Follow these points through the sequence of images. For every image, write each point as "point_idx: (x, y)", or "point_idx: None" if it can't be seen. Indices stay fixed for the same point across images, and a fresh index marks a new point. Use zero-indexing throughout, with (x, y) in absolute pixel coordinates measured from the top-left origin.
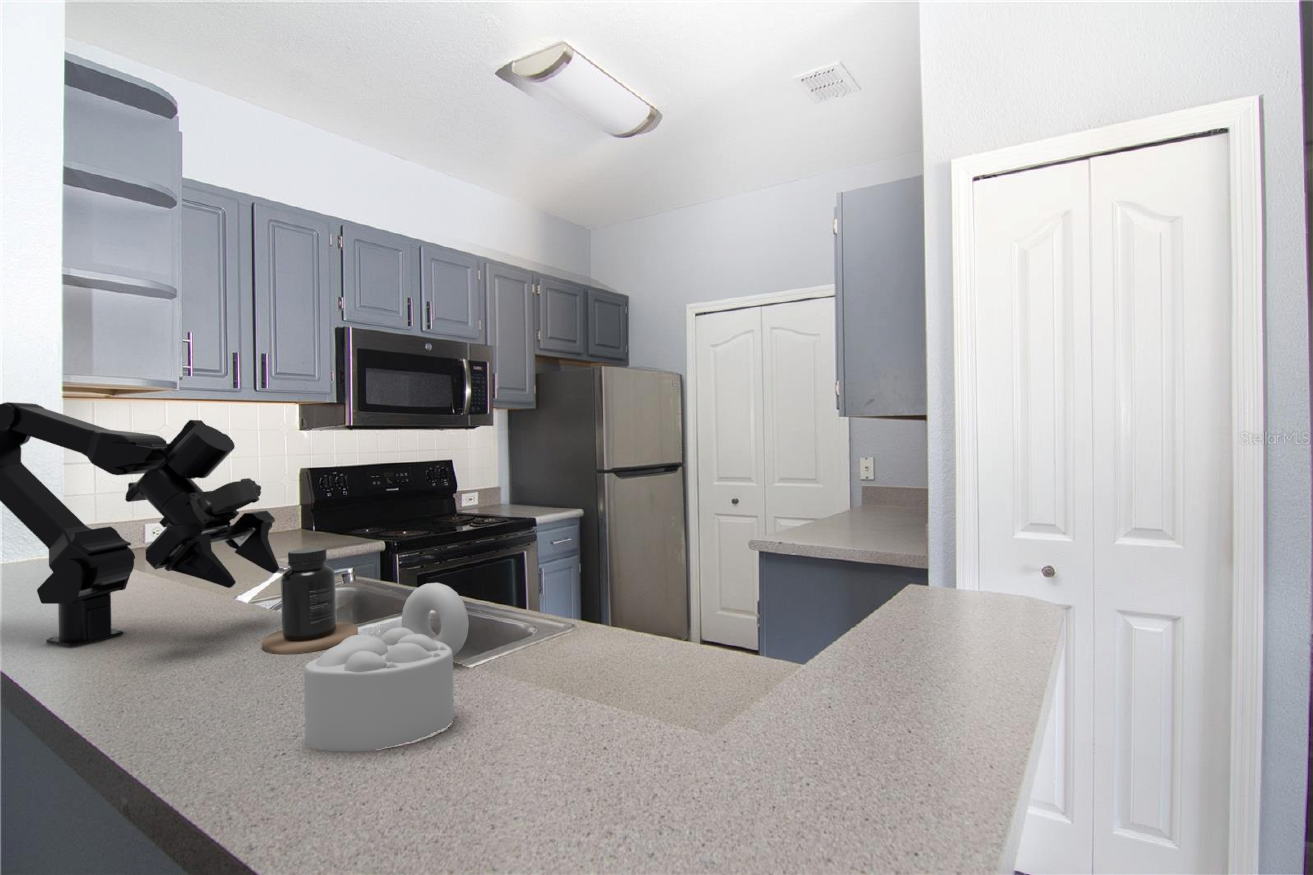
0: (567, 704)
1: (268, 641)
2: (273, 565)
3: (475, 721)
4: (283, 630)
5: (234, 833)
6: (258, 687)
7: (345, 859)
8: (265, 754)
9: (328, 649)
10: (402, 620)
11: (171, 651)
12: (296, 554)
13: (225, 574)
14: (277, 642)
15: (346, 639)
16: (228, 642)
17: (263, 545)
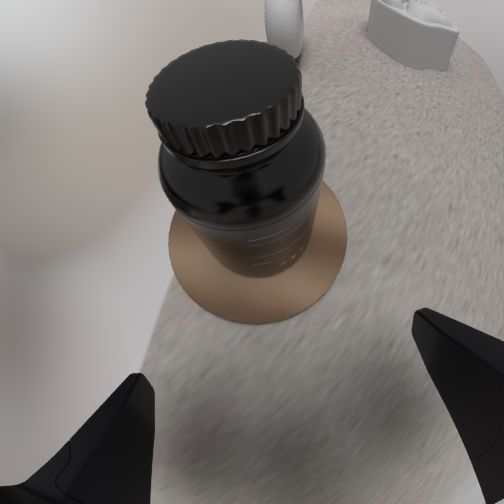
0: (324, 4)
1: (321, 276)
2: (137, 393)
3: (368, 20)
4: (307, 243)
5: (485, 67)
6: (433, 151)
7: (460, 39)
8: (465, 81)
9: (445, 17)
10: (298, 32)
11: (383, 450)
12: (298, 64)
13: (461, 323)
14: (321, 251)
15: (429, 11)
16: (312, 400)
17: (82, 474)
